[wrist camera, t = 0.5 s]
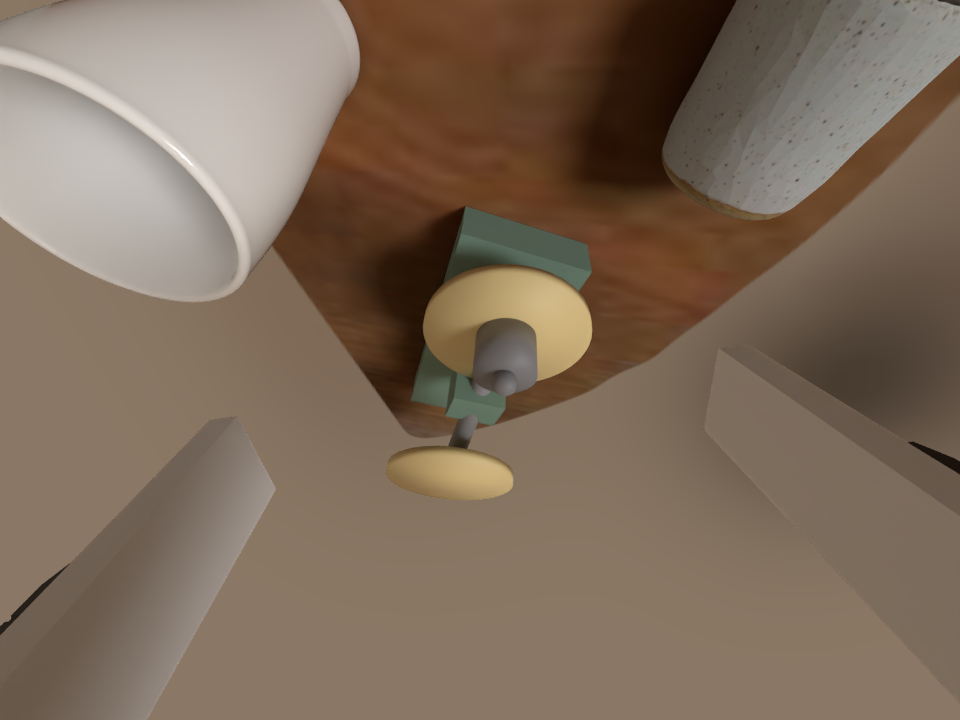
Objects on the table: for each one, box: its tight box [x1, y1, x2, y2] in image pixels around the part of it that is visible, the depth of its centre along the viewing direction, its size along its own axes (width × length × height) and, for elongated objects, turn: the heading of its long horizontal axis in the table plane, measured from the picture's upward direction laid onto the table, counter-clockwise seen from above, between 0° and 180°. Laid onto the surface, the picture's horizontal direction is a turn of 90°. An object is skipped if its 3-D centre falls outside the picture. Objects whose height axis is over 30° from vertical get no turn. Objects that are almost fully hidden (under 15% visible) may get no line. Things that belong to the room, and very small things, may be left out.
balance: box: [386, 206, 592, 500], centre depth 31 cm, size 25×11×12 cm, turn 163°
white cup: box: [0, 0, 360, 302], centre depth 14 cm, size 7×7×15 cm
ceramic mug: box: [662, 0, 960, 220], centre depth 16 cm, size 11×8×8 cm
